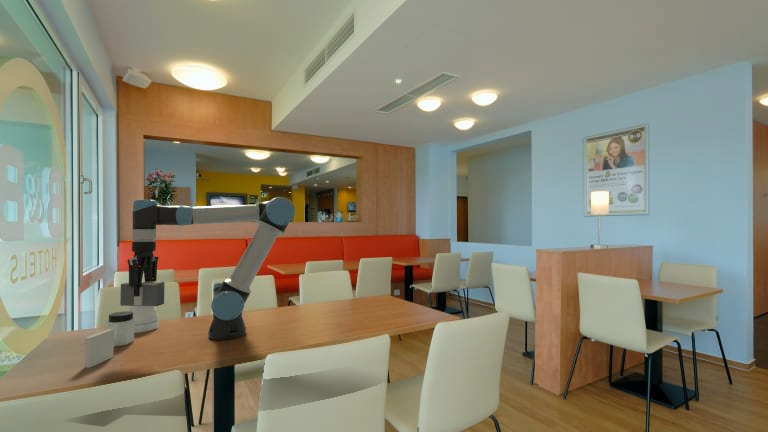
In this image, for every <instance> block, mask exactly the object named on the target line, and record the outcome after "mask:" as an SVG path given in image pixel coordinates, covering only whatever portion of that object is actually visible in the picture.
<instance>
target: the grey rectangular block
mask: <svg viewBox="0 0 768 432" xmlns="http://www.w3.org/2000/svg"><path fill="white" fill-rule="evenodd" d="M165 284H166V283H165V280H158V281H157V280H156V281H147V282H145V281H142V284H141V287H143V303H142V305H134V288H133V287H131V286H129V281H128V282H124V283H123V282H122V283H120V300H119V301H120V303H119V305H120V306H121V307H124V306H125V307H130V306H155V307H159V306H163V305H164V304H165Z"/></svg>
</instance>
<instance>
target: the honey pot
mask: <svg viewBox="0 0 768 432" xmlns="http://www.w3.org/2000/svg"><path fill="white" fill-rule="evenodd" d="M129 307H130V308H129V311H131V312H133V318H134V334H137V333H144V332H145V333H146V332H149V331H154V330H157V329H158V328H159V322H160V321H159V319H160V318H159V313H158V311H157V308H156V306H129Z"/></svg>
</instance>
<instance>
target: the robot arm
mask: <svg viewBox="0 0 768 432" xmlns="http://www.w3.org/2000/svg"><path fill="white" fill-rule="evenodd" d="M132 204H133V206H132V212H131V213H132V228H131V229H132V238H131V239H132V240H131V241H132V242H131V251H132V252H133V253H134V254H133V258H130V259H127V264H128V282H129V286H131V287H133V288H134V305H142V303H143V287H141V284H142V282H143V278H144V282H147V281H157V280H158V279H157V277H158V273H157V272H158V262H159V256H155V255H154V252H155V251H156V250H157V242H156V241H155V240H157V226H190V225H191V226H192V225H207V224H208V225H209V224H228V223H230V224H231V223H247V222H248V223H249V222H250V223H251V222H253V223H254V222H256V223H257V224H258V227H257V229H256V231H255V233H254V235H253V237H251V240H250V242H249V244H248V245H247V247H246V248H245V250H244V252H243V254H242V255H241V257H240V259H239V261H238V262H237V265H236V266H235V268H234V269H233V271H232V273H231V275H230V276H229V278H226V279H224V280H223V281H222V282H216V283H214V284H213V289H212V293H213V298H212V301H211V303H210V305H211V306H210V308H211V311H212V320H211V324H210V326H209V330H208V336H207V337H208V339H210V340H215V341H225V340H226V341H227V340H234V339H238V338H241V337H243V336H245V335H246V333H247V327H246V324H245V321H244V318H243V312H244V308H245V304H246V302H247V300H248V298H249V297H250V295H251V292H252V291H251V288H250V287H251V285H252V283H253V281H254V280H255V278H256V276H257V274H258V272H259V271H260V268H261V267H262V265H263V264H264V261H265V260H266V259H267V256H268V254H269V252H270V251H271V249H272V247H273V245H274V243H275V242H276V240H277V237H278V236H279V235H283V234H284V233H285V231H286V229H287V227H288V225H289V224H290V223H291V222H292V221H293V220H294V218H295V215H296V208H295V206H294V203H293V202H292V201H291V200H290V199H288V198H286V197H282V196H277V197H274V198H272V199H271V200H268V201H260V202H259V201H258V202H256V203H255V204H238V205H236V204H235V205H233V204H231V205H211V206H210V205H208V206H207V205H206V206H205V205H204V206H189V205H188V206H187V205H159V204H158V202H157V200H155V199H135V200H134V201H133V203H132ZM143 276H144V277H143Z"/></svg>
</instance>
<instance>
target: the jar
mask: <svg viewBox="0 0 768 432" xmlns="http://www.w3.org/2000/svg"><path fill="white" fill-rule="evenodd" d="M108 329H114V348H115V347H121V346H128V345H129V344H131V343H133V342H135V333H134V318H133V312H131V311H130V310H126V311H117V312H112V313H110V314H109V315H108V321H107V323H106V330H108Z"/></svg>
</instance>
